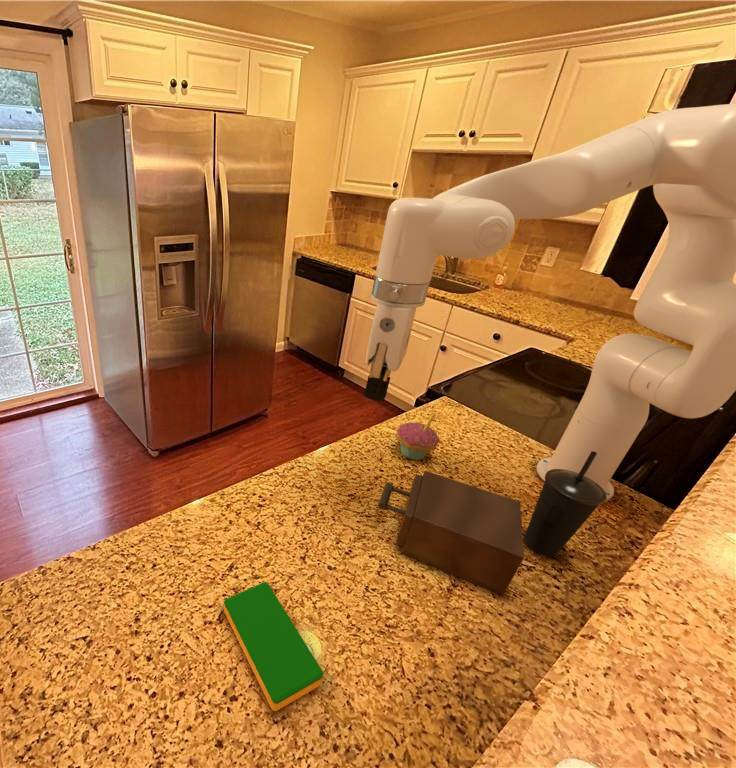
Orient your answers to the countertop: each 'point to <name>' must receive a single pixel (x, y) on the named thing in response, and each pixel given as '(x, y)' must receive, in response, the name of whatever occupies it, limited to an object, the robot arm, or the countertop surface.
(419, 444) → the cupcake
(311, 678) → the dish sponge
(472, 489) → the cabinet
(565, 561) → the countertop surface
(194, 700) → the countertop surface
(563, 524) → the drinking cup
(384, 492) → the drawer
